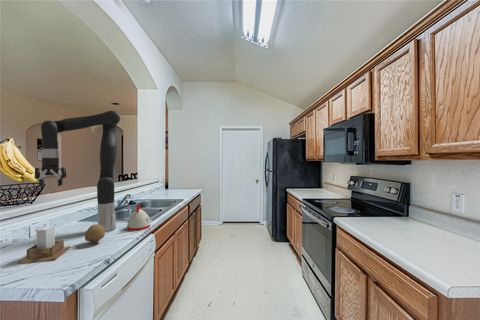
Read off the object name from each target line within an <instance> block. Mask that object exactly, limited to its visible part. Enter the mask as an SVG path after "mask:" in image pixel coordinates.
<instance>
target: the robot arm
mask: <svg viewBox="0 0 480 320" xmlns="http://www.w3.org/2000/svg"><path fill="white" fill-rule="evenodd" d="M120 121H121V115H120V114H119V113H118V112H117V111H115V110H107V111H105V112H101V113H98V114H97V113H96V114H94V115H93V114H92V115H85V116H77V117H69V118H64V119H60V120H54V121H53V120H45V121H43V122H42V123H41V125H40V133H41V156H40V157H41V167H35V168H34V179H35V180H38V184H39V187H45V178H46V177H47V176H54V177H56V178H57V186H58V187H62V186H63V183H64V182H63V181H64V180H63V179H66V178H67V170H66V169H67V168H66V167H65V166H64V167H60V155H59V154H60V151H59V142H58V134H60V133H63V132H70V131H76V130H77V131H78V130H83V129H86V128H90V127H95V126H101V125H102V135H101V139H100V148H99V165H100V170H99V178H98V181H97V184H96V190H97V191H96V197H97V199H96V200H97V224H99V225H101V226H102V227H103V228H104V230H105V233H106V232H111V231H114V230H115V229H116V228H117V225H116V223H117V221H116V219H117V218H116V215H117V214H116V213H115V181H114V168H115V165H116V161H117V151H118V143H117V138H116V135H117V133H116V132H117V126H118V125H117V124H119V123H120ZM41 171H42V172H41ZM59 171H60V172H61V173H60V172H59Z"/></svg>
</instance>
